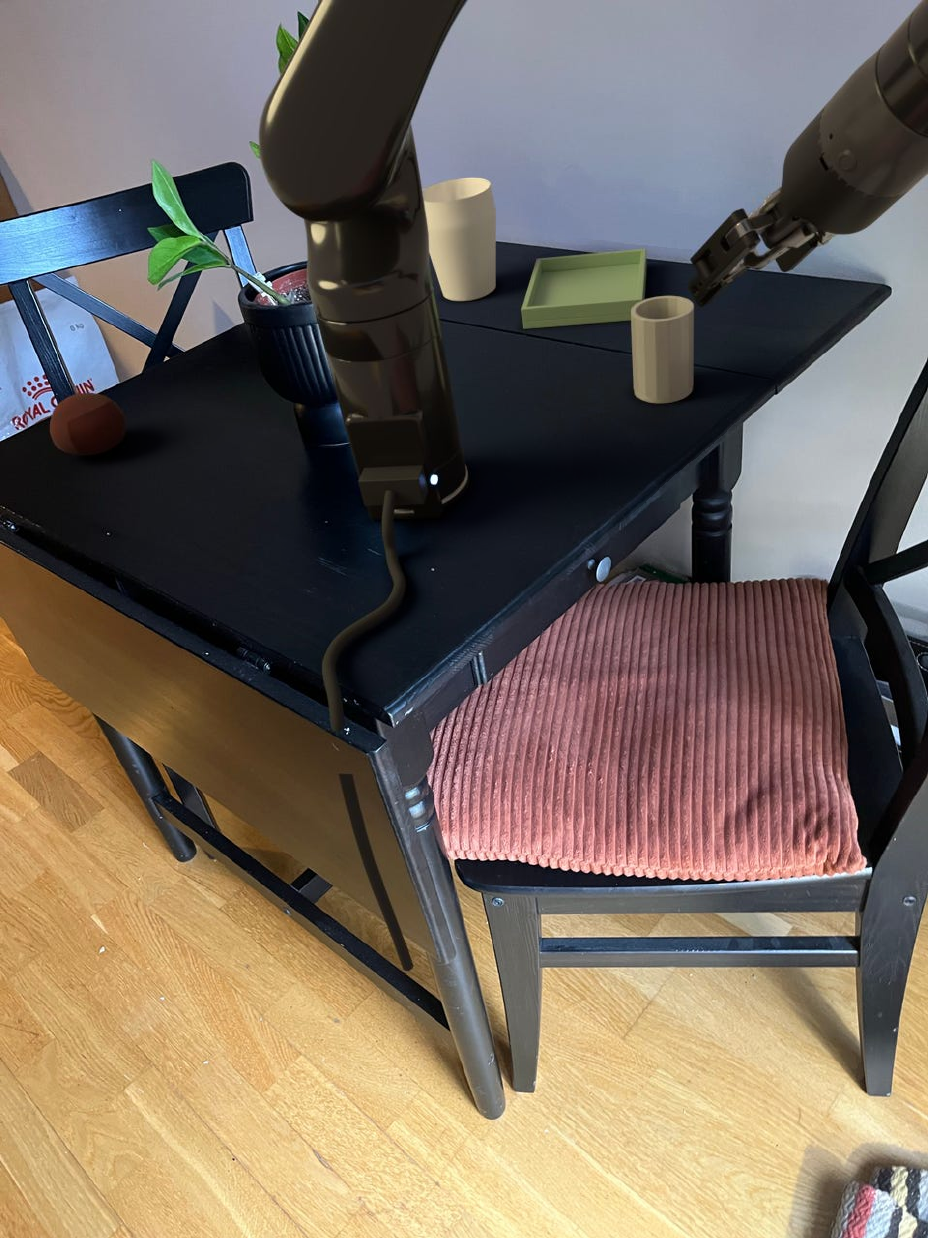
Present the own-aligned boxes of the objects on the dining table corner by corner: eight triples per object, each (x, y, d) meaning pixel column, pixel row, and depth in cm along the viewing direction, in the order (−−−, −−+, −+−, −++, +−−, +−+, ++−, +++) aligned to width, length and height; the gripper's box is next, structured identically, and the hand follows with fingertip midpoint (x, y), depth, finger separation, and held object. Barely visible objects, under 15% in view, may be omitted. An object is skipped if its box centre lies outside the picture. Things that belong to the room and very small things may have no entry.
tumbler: (693, 401, 85) (694, 318, 80) (633, 405, 86) (629, 323, 81) (692, 374, 89) (693, 293, 84) (635, 377, 90) (632, 298, 85)
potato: (76, 478, 92) (49, 425, 88) (53, 451, 98) (28, 400, 94) (144, 449, 95) (121, 396, 91) (118, 424, 101) (96, 373, 97)
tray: (642, 319, 100) (642, 298, 99) (523, 328, 103) (521, 308, 102) (646, 267, 111) (646, 248, 110) (538, 277, 114) (536, 258, 113)
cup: (495, 304, 110) (481, 199, 102) (424, 307, 112) (405, 205, 105) (512, 274, 116) (500, 173, 108) (444, 278, 119) (428, 180, 111)
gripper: (928, 59, 59) (784, 210, 75) (759, 117, 55) (644, 265, 71) (984, 159, 59) (828, 290, 74) (819, 225, 55) (690, 350, 70)
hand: (738, 278), depth 72 cm, fingers open, 8 cm apart
